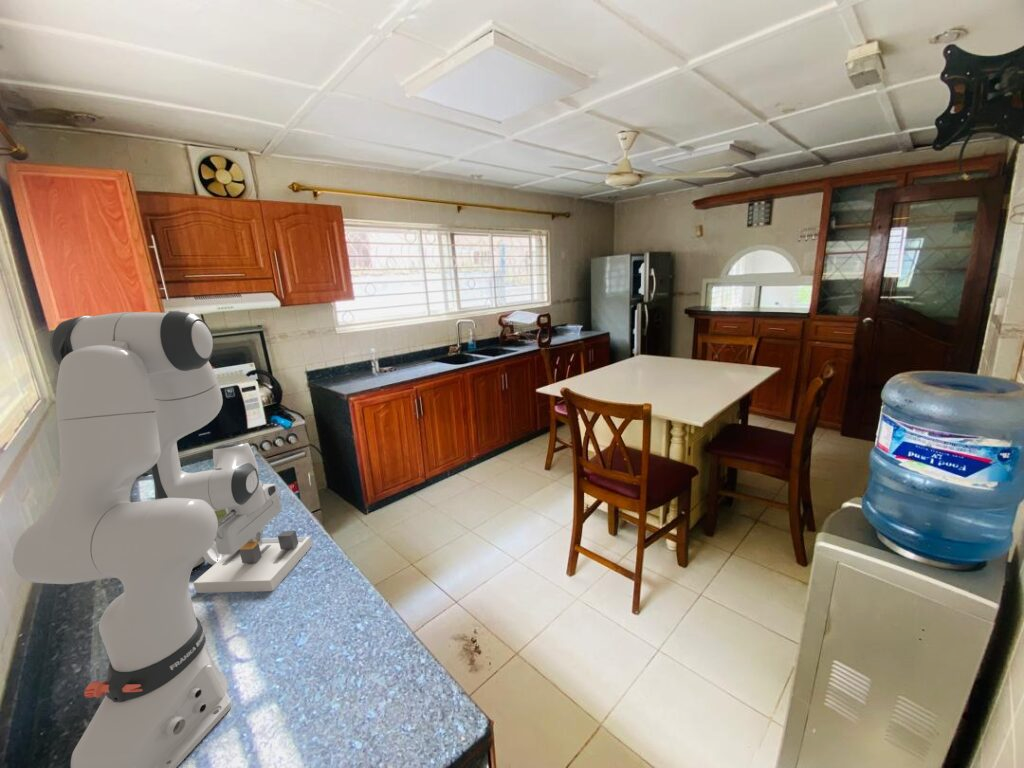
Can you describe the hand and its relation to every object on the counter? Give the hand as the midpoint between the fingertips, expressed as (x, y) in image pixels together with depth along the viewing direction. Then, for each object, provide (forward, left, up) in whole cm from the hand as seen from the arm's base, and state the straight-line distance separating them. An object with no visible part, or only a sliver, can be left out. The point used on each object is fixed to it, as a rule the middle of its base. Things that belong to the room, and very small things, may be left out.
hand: (257, 547), depth 109 cm
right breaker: (+3, -7, -2) cm, 8 cm away
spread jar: (+1, +19, -6) cm, 20 cm away
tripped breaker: (-3, 0, -2) cm, 3 cm away
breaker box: (-1, 0, -5) cm, 6 cm away
